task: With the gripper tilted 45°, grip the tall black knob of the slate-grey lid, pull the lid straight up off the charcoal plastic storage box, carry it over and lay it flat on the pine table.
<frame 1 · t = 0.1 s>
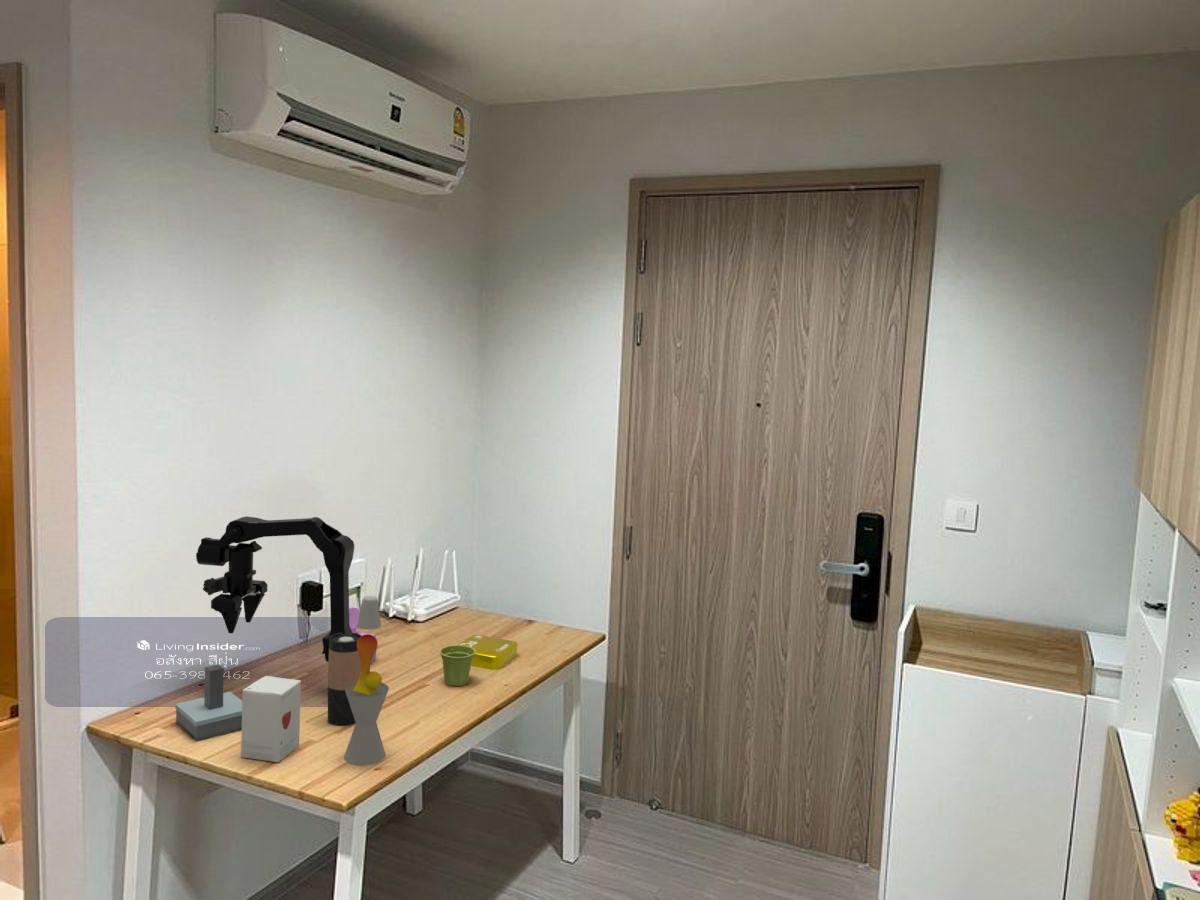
hand: (239, 627, 227), 15 cm above the table, tool pointing down, fingers open, 9 cm apart
plant pot: (456, 683, 238), on the table
slate lid: (213, 713, 203), point 3 cm above the table, touching storage box
lava lamp: (364, 756, 193), on the table
storage box: (213, 725, 203), on the table
supplement box: (270, 752, 192), on the table
element tile: (484, 660, 257), on the table
travel mug: (343, 720, 210), on the table
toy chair: (357, 662, 249), on the table
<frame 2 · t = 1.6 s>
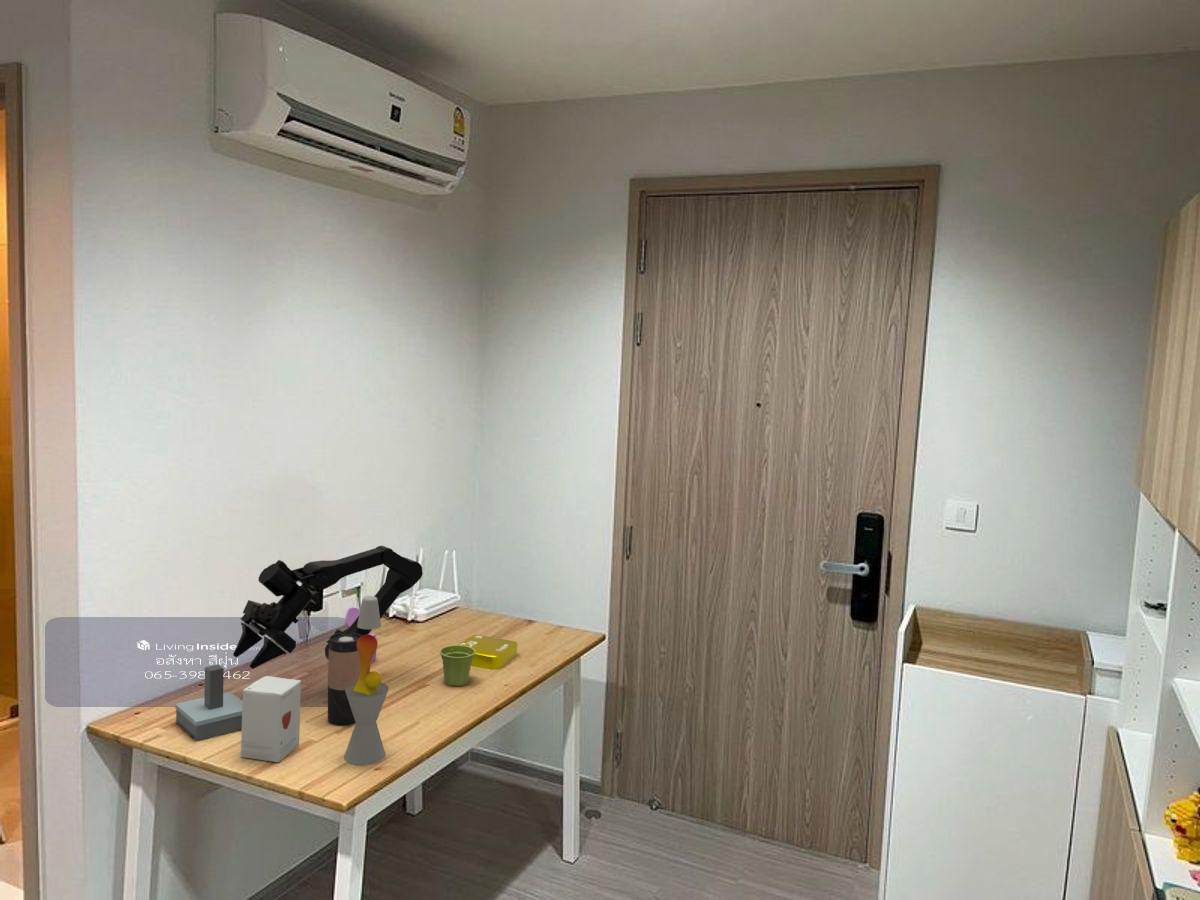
hand: (242, 661, 206), 13 cm above the table, tool tilted 45°, fingers open, 9 cm apart
nothing on the table moved.
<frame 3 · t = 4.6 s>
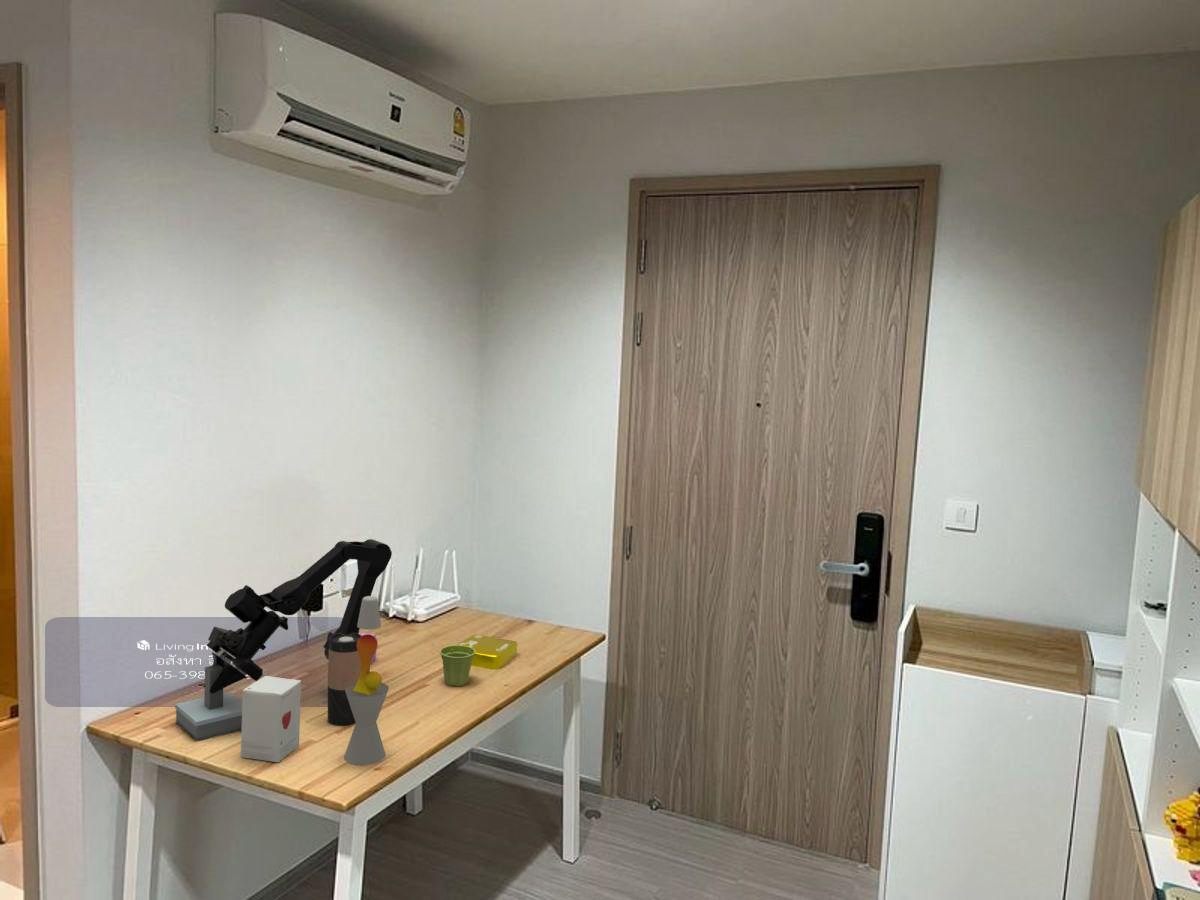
hand: (207, 690, 201), 9 cm above the table, tool tilted 45°, fingers closed on slate lid, 3 cm apart
slate lid: (213, 713, 203), point 3 cm above the table, touching gripper, storage box
everything else where it was.
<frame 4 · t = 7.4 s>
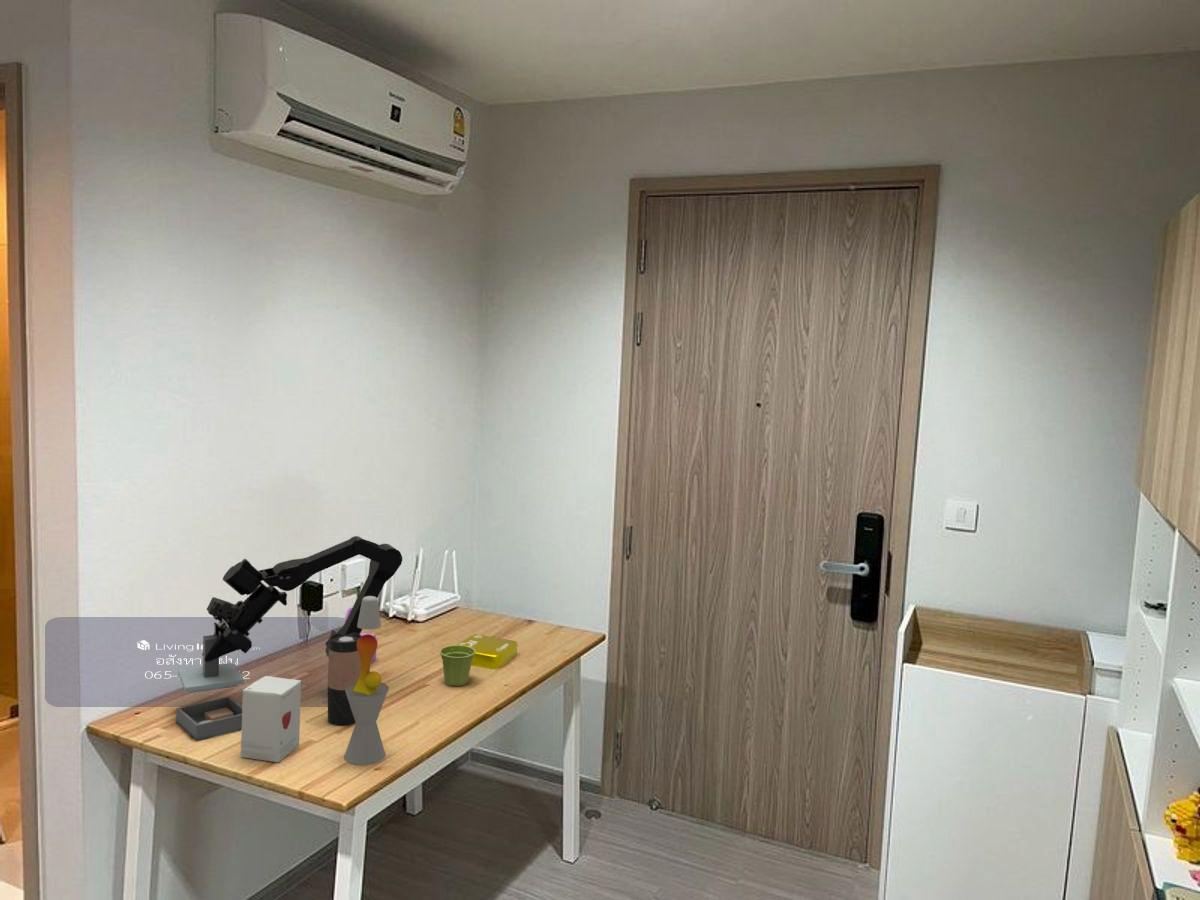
hand: (204, 658, 207), 13 cm above the table, tool tilted 45°, fingers closed on slate lid, 3 cm apart
slate lid: (210, 682, 209), point 8 cm above the table, touching gripper
everything else where it was.
when the fingers open (7 cm above the table, at t = 10.0 s): slate lid drops 2 cm, on the table.
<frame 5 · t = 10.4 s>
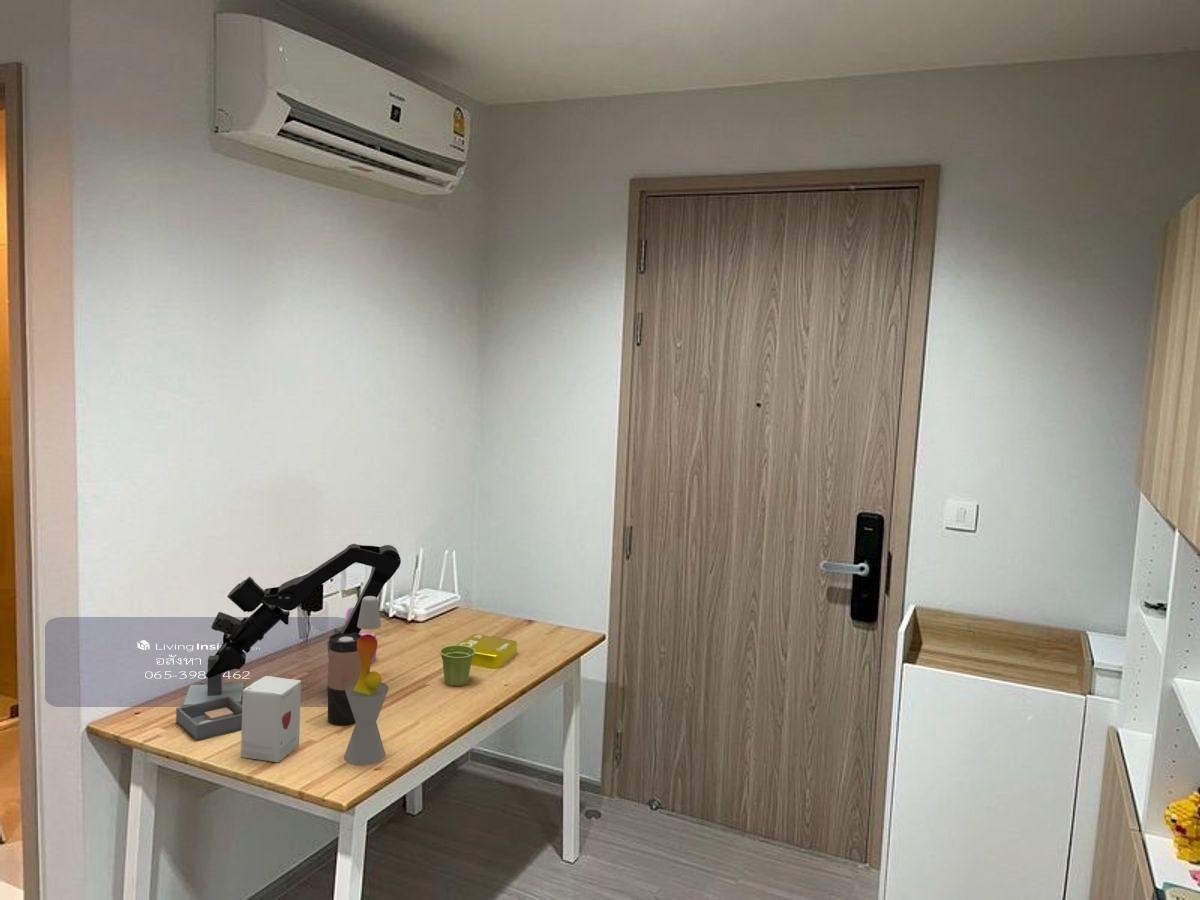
hand: (208, 670, 216), 8 cm above the table, tool tilted 45°, fingers open, 8 cm apart
slate lid: (214, 700, 217), on the table
everything else where it was.
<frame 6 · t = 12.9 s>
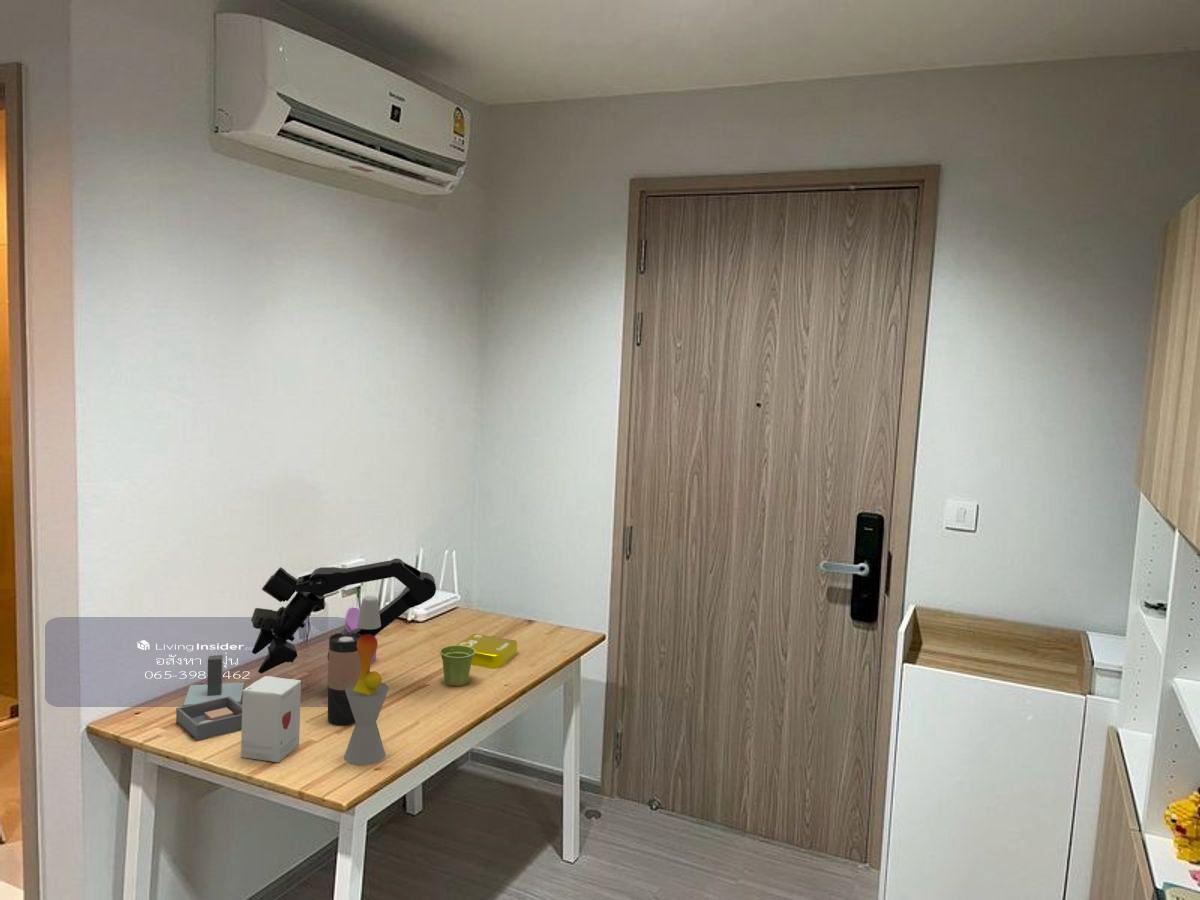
hand: (256, 662, 220), 8 cm above the table, tool tilted 35°, fingers open, 9 cm apart
nothing on the table moved.
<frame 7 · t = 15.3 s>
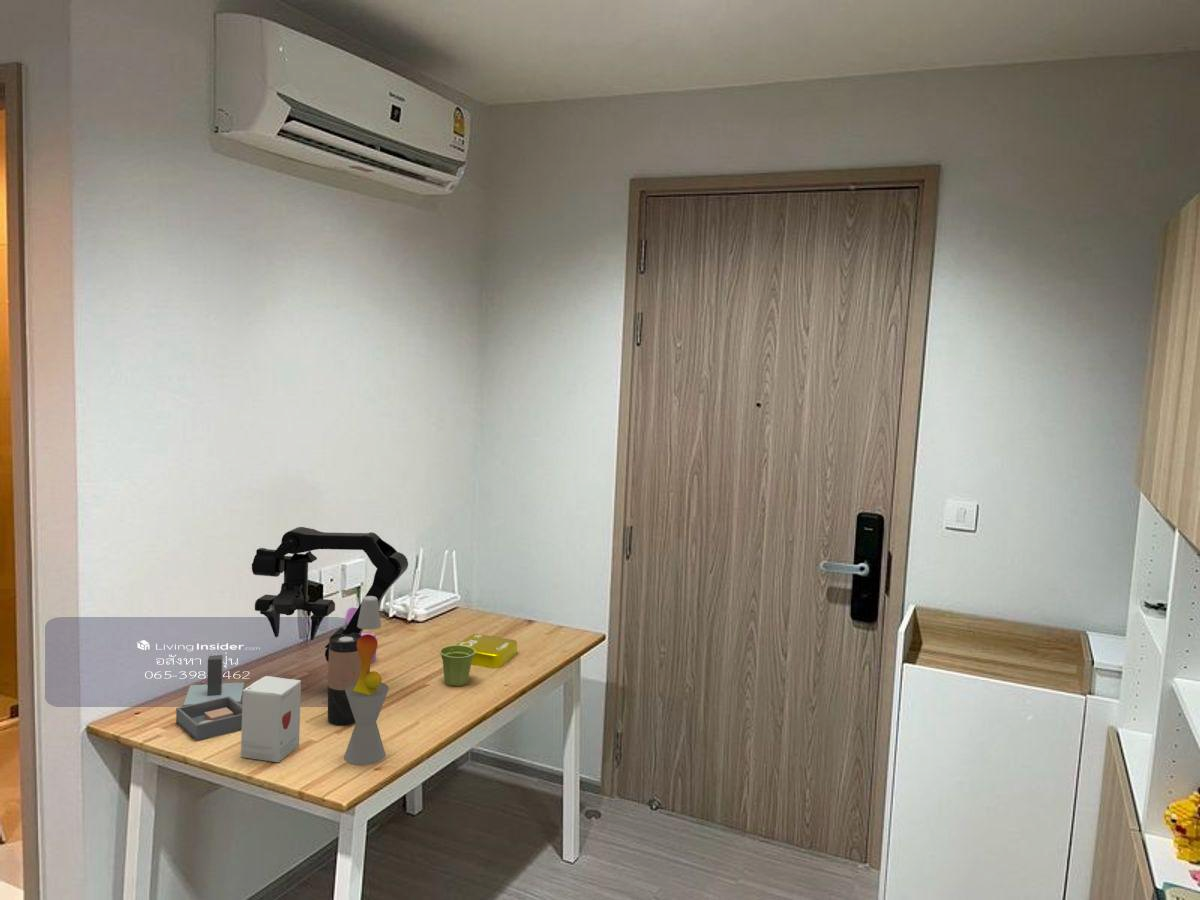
hand: (294, 638, 226), 13 cm above the table, tool pointing down, fingers open, 9 cm apart
at the end: slate lid inside the target area (0.4 cm from its centre), on the table; slate lid tilted 0°; the gripper is holding nothing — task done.
